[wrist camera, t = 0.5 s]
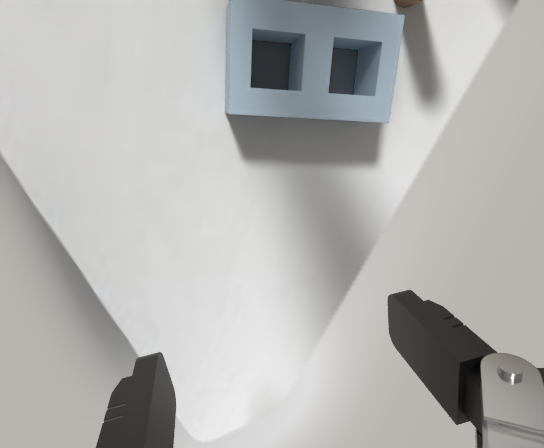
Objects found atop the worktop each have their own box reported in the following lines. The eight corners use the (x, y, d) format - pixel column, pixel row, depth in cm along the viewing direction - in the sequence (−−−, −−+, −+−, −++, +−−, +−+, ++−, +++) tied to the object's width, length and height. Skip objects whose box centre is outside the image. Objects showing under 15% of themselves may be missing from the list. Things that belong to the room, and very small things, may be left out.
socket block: (226, 9, 32) (231, -7, 28) (377, 26, 35) (404, 15, 31) (225, 112, 35) (229, 114, 30) (365, 120, 38) (388, 122, 34)
